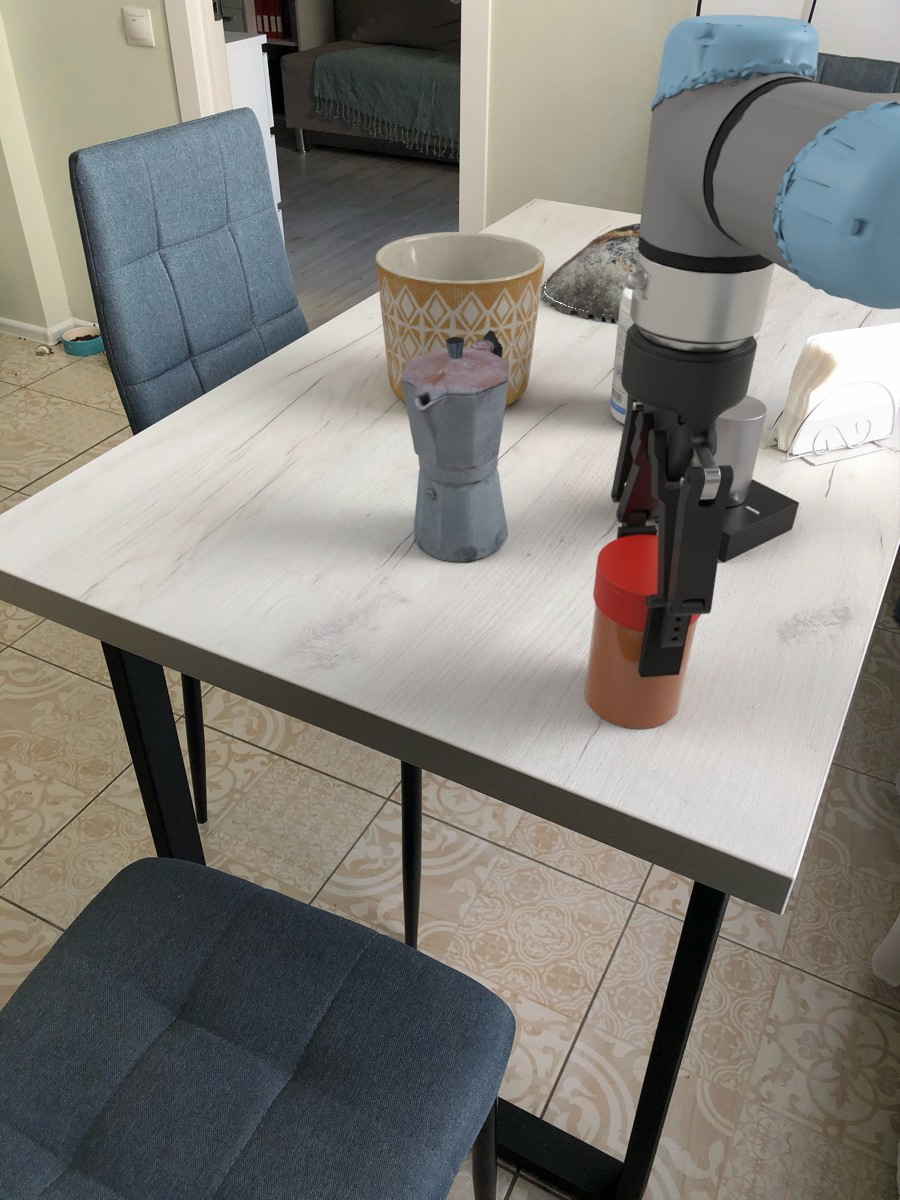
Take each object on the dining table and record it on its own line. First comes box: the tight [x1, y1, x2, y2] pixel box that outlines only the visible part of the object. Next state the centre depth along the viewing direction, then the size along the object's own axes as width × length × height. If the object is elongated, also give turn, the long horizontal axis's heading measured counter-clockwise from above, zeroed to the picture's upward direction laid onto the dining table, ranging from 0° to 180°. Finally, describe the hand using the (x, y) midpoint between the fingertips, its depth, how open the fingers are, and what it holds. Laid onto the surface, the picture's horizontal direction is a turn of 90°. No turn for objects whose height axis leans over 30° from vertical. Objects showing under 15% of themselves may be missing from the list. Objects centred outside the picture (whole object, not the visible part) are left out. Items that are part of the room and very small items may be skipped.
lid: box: [592, 535, 702, 632], centre depth 65 cm, size 8×8×3 cm
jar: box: [584, 602, 698, 730], centre depth 68 cm, size 7×7×12 cm
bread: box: [539, 222, 640, 325], centre depth 143 cm, size 27×32×10 cm
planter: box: [375, 231, 546, 408], centre depth 112 cm, size 19×19×16 cm
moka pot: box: [402, 330, 509, 563], centre depth 84 cm, size 10×15×20 cm, turn 157°
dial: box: [713, 394, 768, 507], centre depth 88 cm, size 6×6×9 cm
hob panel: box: [653, 478, 800, 563], centre depth 92 cm, size 12×10×3 cm
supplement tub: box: [609, 287, 634, 425], centre depth 107 cm, size 10×10×15 cm
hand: (641, 634), depth 68 cm, fingers closed on lid, 8 cm apart
